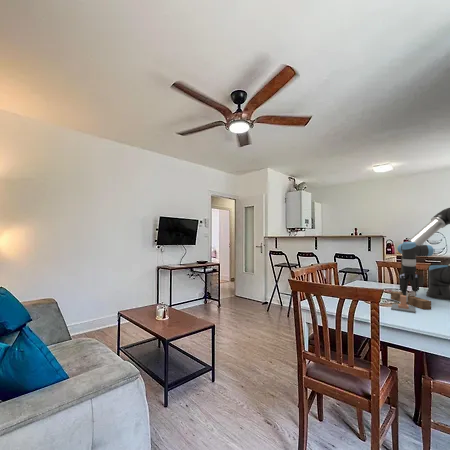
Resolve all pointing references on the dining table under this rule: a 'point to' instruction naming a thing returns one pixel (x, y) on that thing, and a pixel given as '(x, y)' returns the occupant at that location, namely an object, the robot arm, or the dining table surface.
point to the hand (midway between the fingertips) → (409, 301)
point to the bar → (413, 301)
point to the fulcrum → (403, 306)
